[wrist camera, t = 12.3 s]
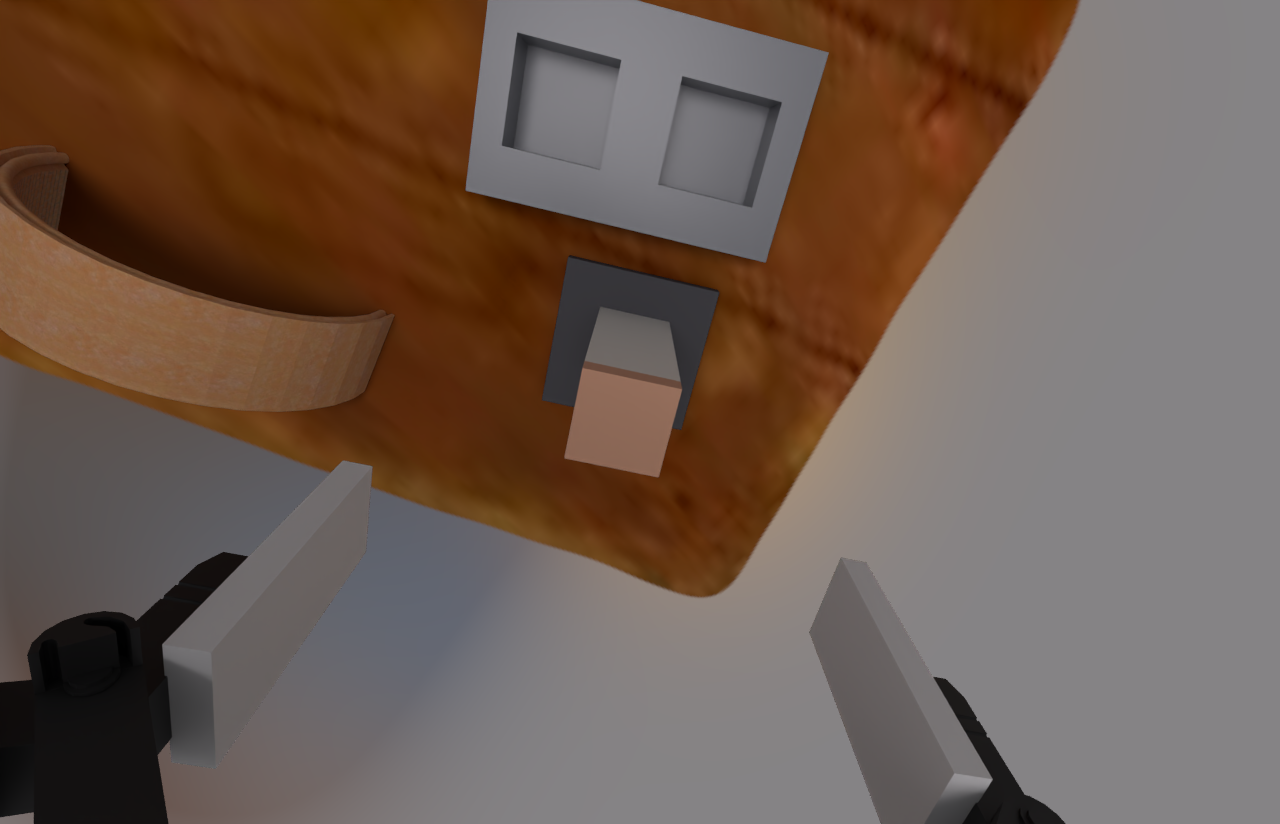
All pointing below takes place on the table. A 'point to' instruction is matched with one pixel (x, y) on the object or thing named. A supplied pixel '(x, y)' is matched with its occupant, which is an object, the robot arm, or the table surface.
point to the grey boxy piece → (641, 119)
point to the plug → (626, 394)
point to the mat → (632, 294)
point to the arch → (160, 316)
